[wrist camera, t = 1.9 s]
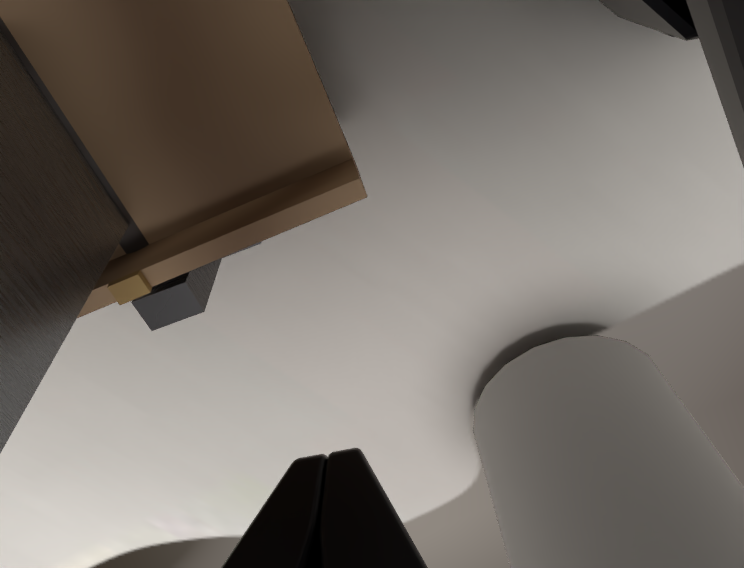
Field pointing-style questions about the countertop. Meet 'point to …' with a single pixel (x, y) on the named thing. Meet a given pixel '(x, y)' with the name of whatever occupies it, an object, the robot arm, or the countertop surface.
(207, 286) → the stand
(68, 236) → the steel block
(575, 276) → the countertop surface
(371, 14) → the countertop surface
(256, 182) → the beam
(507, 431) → the can
